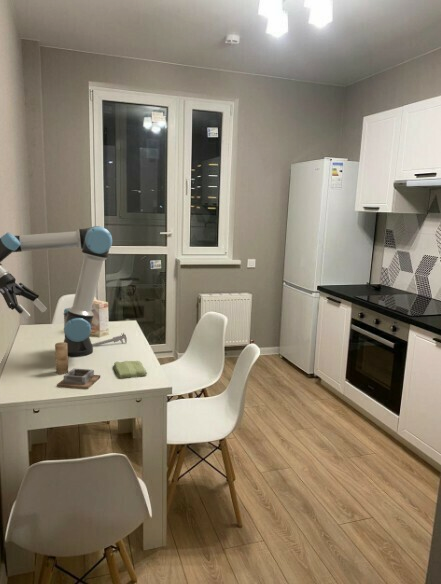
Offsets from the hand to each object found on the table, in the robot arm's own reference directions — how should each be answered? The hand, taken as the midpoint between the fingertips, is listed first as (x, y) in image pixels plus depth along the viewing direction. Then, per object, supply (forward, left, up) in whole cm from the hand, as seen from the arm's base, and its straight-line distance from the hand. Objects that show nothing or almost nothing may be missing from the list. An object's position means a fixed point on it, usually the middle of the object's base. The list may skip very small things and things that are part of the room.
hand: (37, 314), depth 187 cm
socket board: (+9, +23, -26) cm, 35 cm away
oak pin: (0, +11, -26) cm, 28 cm away
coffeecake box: (-63, 0, -26) cm, 68 cm away
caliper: (-43, +14, -26) cm, 52 cm away
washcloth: (-8, +39, -26) cm, 47 cm away
